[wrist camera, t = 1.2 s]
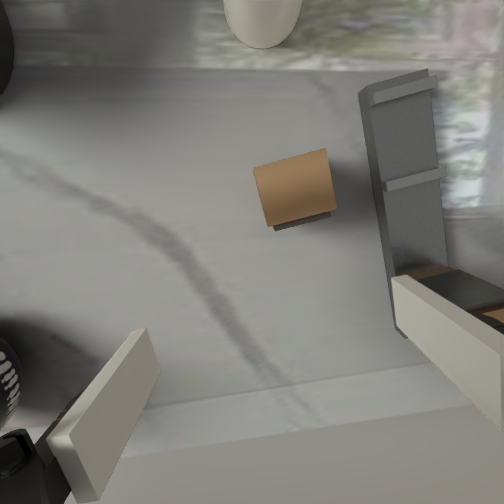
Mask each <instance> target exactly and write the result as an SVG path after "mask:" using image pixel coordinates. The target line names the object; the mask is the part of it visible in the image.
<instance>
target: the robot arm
mask: <svg viewBox="0 0 504 504" xmlns="http://www.w3.org/2000/svg"><path fill="white" fill-rule="evenodd" d="M12 65H13V38H12V33H11V28H10V25H9V21H8V18H7V16H6V13H5V11H4V8H3V6H2V4H1V2H0V94H1V93H2V91H3V90H4V88H5V86H6V84H7V82H8V80H9V77H10V74H11V70H12ZM391 281H392V290H393V299H394V308H395V317H396V326H397V327H398V328H399V329H400V330H401V331H402V332H403V333H404V334H405V335H406V336H407V337H408V338H409V339H410V340H411V341H412V342H413V343H414V344H415V345H416V346H417V347H418V348H419V349H420V350H421V351H422V352H423V353H424V354H425V355H426V356H427V357H428V358H429V359H430V360H431V361H432V362H433V363H434V364H435V365H436V366H437V367H438V368H439V369H440V370H441V371H442V372H443V373H444V374H445V375H446V376H447V377H448V378H449V379H450V380H451V381H452V382H453V383H454V384H455V385H456V386H457V387H458V388H459V389H460V390H461V392H462V393H463V394H464V395H465V396H466V397H467V398H468V399H469V400H470V401H471V402H472V403H473V404H474V405H475V406H476V407H478V409H479V410H480V411H481V412H482V413H483V414H484V415H485V416H486V417H487V418H488V419H489V420H490V421H491V422H492V423H493V424H494V425H495V426H496V427H497V428H498V429H499V430H500V431H501V432H504V323H502V322H501V321H499V320H497V319H495V318H493V317H490V316H487V315H484V314H481V313H473V314H469V313H468V312H466V311H464V310H463V309H461V308H459V307H458V306H456V305H455V304H453V303H451V302H450V301H448V300H446V299H445V298H443V297H442V296H440V295H438V294H437V293H435V292H433V291H432V290H430V289H429V288H427V287H425V286H424V285H422V284H421V283H419V282H417V281H416V280H414V279H412V278H411V277H409V276H408V275H402V276H397V277H392V278H391ZM160 373H161V369H160V366H159V363H158V360H157V357H156V354H155V351H154V348H153V346H152V343H151V340H150V337H149V334H148V331H147V328H144V329H139V330H134V331H132V332H131V334H130V335H129V336H128V337H127V339H126V340H125V341H124V342H123V344H122V345H121V346H120V347H119V349H118V350H117V351H116V352H115V354H114V355H113V356H112V357H111V359H110V360H109V361H108V362H107V364H106V365H105V366H104V367H103V368H102V370H101V371H100V372H99V373H98V375H97V376H96V377H95V378H94V380H93V381H92V382H91V383H90V385H89V386H88V387H87V388H86V390H83V391H82V392H81V393H79V394H78V395H77V396H76V397H74V398H73V399H72V400H71V401H70V402H69V404H68V405H67V406H66V407H65V408H64V410H63V412H61V413H60V414H59V416H58V417H57V418H56V421H54V422H53V423H52V424H51V425H50V426H49V428H48V429H47V430H46V431H45V432H44V434H43V435H42V436H41V437H40V438H39V440H38V441H37V442H36V443H35V445H34V444H33V442H32V440H31V438H30V436H29V434H28V432H27V431H26V429H17V430H14V431H11V432H9V433H7V434H5V435H3V436H1V437H0V504H64V502H65V500H66V498H67V497H68V495H69V493H70V492H71V491H72V493H73V495H74V497H75V499H76V502H77V503H78V504H80V503H86V502H91V501H97V500H100V497H101V495H102V493H103V491H104V489H105V487H106V485H107V483H108V481H109V479H110V477H111V475H112V473H113V471H114V469H115V466H116V464H117V462H118V460H119V458H120V456H121V454H122V452H123V450H124V448H125V446H126V444H127V442H128V440H129V437H130V435H131V433H132V431H133V429H134V427H135V425H136V423H137V421H138V419H139V417H140V415H141V413H142V411H143V409H144V406H145V404H146V402H147V400H148V398H149V396H150V394H151V392H152V390H153V388H154V386H155V384H156V382H157V380H158V377H159V375H160Z"/></svg>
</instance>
